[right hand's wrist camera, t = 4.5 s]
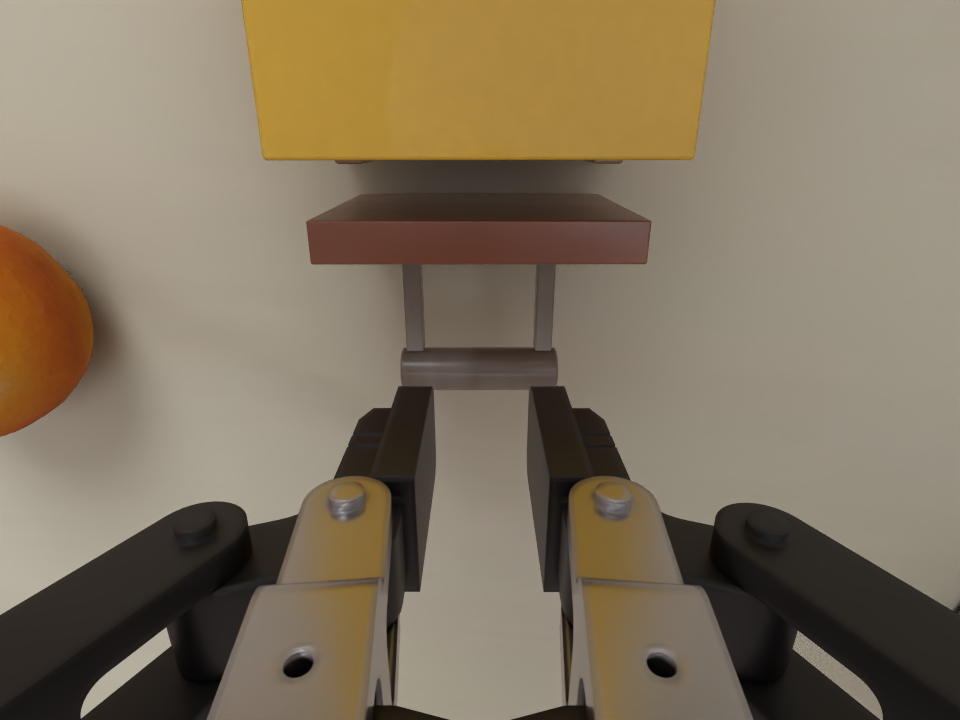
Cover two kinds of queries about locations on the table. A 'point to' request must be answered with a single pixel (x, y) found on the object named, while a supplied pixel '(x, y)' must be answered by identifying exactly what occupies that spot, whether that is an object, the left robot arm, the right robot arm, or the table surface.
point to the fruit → (38, 332)
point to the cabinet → (478, 78)
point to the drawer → (479, 240)
